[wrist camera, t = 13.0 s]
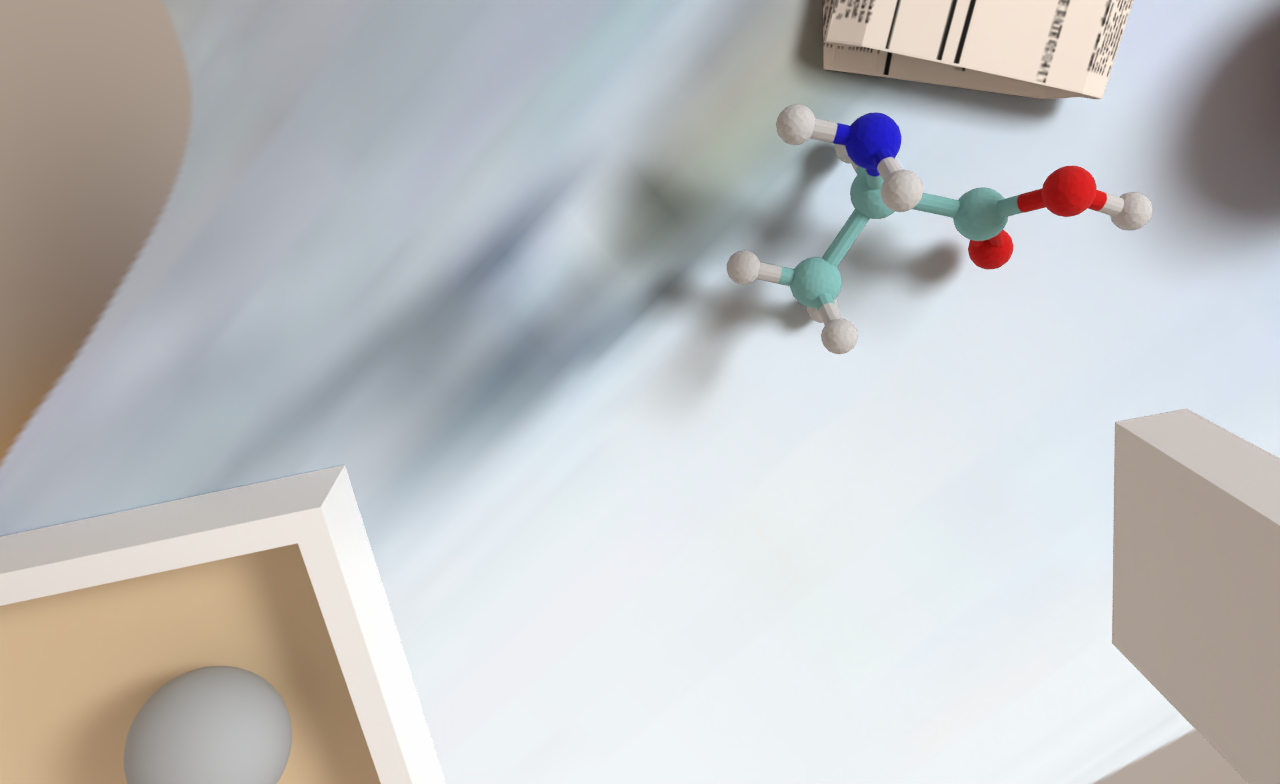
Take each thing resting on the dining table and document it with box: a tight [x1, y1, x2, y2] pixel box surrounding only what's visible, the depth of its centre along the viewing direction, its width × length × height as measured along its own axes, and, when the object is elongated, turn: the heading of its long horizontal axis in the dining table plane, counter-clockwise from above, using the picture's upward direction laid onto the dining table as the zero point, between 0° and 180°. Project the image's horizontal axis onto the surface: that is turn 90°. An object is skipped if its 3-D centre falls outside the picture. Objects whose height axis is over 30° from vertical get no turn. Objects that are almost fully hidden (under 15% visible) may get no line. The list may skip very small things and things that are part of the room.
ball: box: [124, 666, 292, 784], centre depth 36 cm, size 6×6×6 cm
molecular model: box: [727, 104, 1153, 354], centre depth 32 cm, size 12×10×10 cm
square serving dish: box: [0, 465, 446, 784], centre depth 38 cm, size 20×20×4 cm
